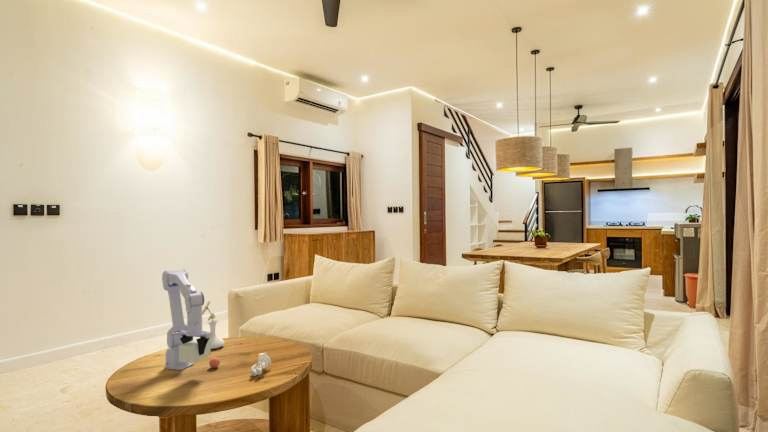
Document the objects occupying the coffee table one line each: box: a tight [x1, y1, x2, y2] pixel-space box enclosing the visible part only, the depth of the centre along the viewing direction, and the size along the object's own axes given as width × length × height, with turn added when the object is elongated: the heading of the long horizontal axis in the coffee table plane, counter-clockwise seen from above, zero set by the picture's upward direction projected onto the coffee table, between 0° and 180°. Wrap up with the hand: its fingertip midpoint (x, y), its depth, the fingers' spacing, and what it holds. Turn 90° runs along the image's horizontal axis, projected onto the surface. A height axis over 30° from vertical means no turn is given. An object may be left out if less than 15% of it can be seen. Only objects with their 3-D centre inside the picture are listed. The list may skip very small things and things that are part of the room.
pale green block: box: [179, 337, 212, 363], centre depth 173 cm, size 6×12×7 cm, turn 164°
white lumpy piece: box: [250, 351, 272, 377], centre depth 179 cm, size 8×6×12 cm
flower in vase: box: [202, 300, 225, 350], centre depth 212 cm, size 13×11×25 cm
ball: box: [208, 357, 221, 369], centre depth 185 cm, size 4×4×4 cm
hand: (195, 353), depth 173 cm, fingers closed on pale green block, 6 cm apart
